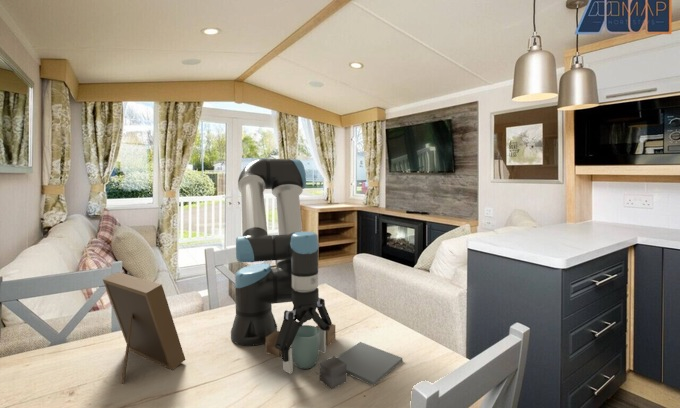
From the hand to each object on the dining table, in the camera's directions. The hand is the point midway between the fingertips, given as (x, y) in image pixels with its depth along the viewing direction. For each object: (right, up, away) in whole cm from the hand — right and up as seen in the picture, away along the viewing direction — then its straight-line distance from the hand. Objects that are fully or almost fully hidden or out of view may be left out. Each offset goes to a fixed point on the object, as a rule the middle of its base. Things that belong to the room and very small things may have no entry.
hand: (305, 360), depth 98 cm
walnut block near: (-9, -1, +8) cm, 12 cm away
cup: (0, -1, 0) cm, 1 cm away
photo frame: (-48, -1, 0) cm, 48 cm away
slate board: (+17, -1, +1) cm, 17 cm away
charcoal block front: (+8, -2, -8) cm, 11 cm away
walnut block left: (+5, 0, +14) cm, 15 cm away
